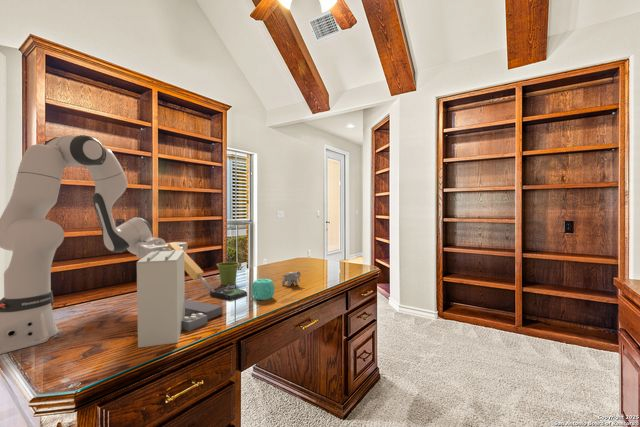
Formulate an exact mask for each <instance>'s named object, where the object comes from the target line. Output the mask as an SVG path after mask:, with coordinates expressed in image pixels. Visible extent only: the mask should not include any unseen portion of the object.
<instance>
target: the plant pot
mask: <svg viewBox="0 0 640 427" xmlns="http://www.w3.org/2000/svg"><path fill="white" fill-rule="evenodd" d="M239 264H240V262H238V261H226V262H220V263H219V262H218V263H216V266H217V269H218V272H219V278H220V283H221V285H222V286H232V285H235V284H236V279H237V270H238V267H239Z"/></svg>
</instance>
